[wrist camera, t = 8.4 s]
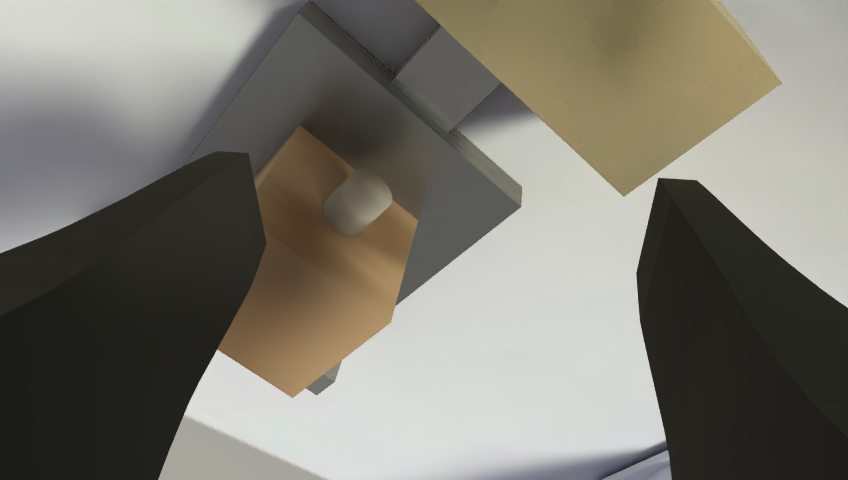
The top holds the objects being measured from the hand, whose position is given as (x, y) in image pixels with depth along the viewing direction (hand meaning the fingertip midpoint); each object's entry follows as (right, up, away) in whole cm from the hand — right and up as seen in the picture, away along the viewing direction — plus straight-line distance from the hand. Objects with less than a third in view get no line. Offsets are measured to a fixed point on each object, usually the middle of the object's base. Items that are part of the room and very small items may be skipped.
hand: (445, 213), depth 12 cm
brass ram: (+3, +6, +5) cm, 9 cm away
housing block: (-4, 0, +11) cm, 12 cm away
